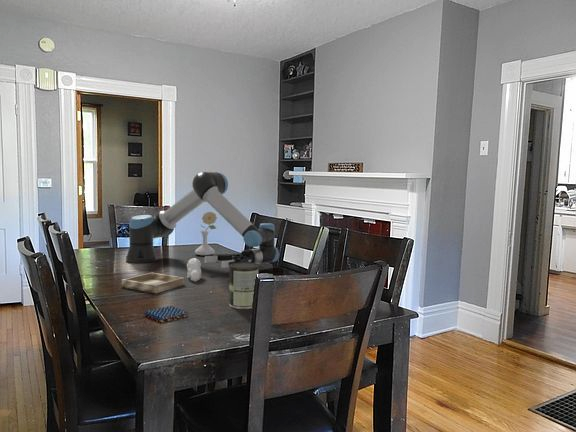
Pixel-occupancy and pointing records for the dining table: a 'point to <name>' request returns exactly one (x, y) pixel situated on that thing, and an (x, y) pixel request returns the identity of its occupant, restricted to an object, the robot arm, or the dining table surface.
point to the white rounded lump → (194, 269)
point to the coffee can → (242, 284)
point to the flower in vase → (205, 248)
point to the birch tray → (153, 282)
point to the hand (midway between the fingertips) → (213, 262)
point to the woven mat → (166, 313)
